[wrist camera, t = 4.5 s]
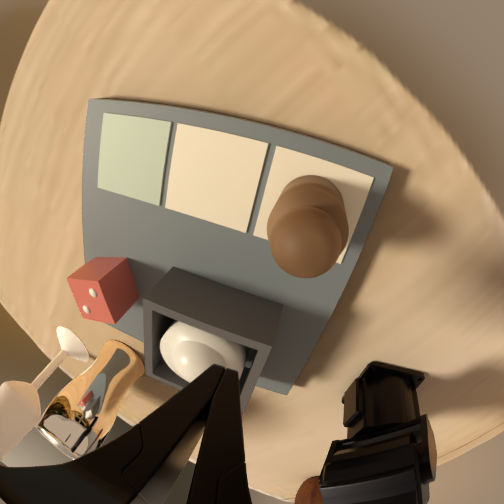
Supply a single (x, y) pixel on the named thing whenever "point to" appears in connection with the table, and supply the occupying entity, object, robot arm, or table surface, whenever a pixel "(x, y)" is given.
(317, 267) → the walnut pawn
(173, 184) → the game board
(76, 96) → the table surface
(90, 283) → the red die
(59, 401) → the beer glass
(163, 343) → the dome button
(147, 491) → the robot arm
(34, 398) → the champagne flute
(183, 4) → the table surface
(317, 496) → the wooden figurine
